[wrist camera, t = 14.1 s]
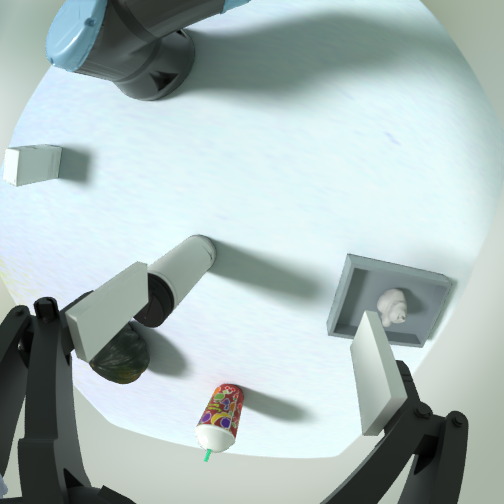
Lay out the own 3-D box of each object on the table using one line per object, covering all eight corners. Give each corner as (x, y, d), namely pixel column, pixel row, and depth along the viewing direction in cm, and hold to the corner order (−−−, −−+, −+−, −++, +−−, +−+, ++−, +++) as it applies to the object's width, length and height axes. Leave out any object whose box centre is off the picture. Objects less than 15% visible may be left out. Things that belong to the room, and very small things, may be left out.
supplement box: (63, 146, 45) (19, 150, 33) (58, 178, 48) (16, 188, 36) (46, 143, 46) (5, 147, 34) (42, 173, 48) (2, 181, 36)
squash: (129, 388, 57) (117, 404, 43) (86, 348, 56) (63, 353, 42) (162, 348, 62) (157, 356, 48) (118, 308, 61) (101, 304, 47)
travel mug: (223, 244, 45) (170, 302, 27) (207, 275, 48) (154, 341, 29) (191, 226, 45) (123, 270, 27) (178, 257, 48) (112, 312, 29)
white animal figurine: (408, 287, 41) (424, 311, 34) (393, 319, 43) (405, 345, 36) (382, 280, 42) (395, 303, 34) (368, 313, 44) (377, 340, 36)
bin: (347, 253, 42) (351, 262, 38) (442, 274, 40) (452, 283, 36) (326, 322, 47) (327, 335, 43) (416, 335, 44) (422, 347, 41)
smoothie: (225, 373, 55) (196, 446, 37) (255, 392, 56) (236, 465, 37) (207, 389, 58) (177, 455, 40) (235, 406, 59) (213, 472, 40)
